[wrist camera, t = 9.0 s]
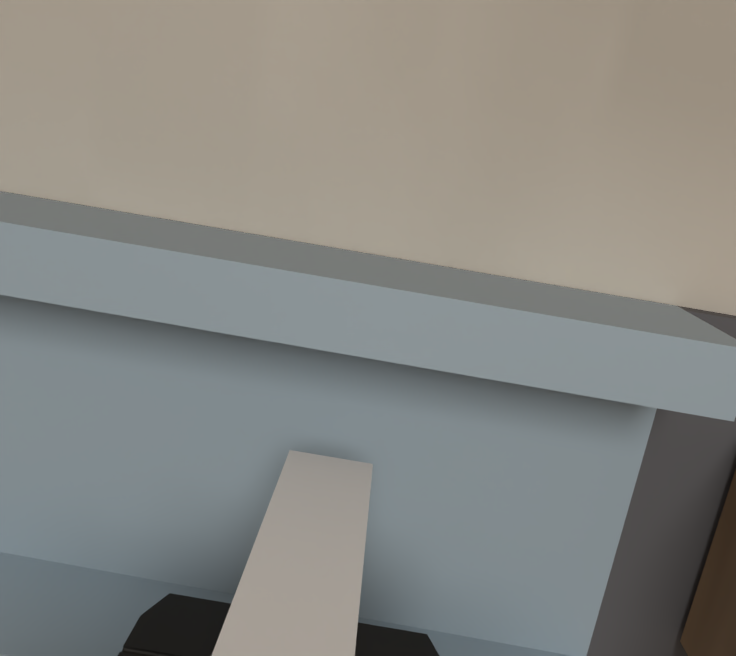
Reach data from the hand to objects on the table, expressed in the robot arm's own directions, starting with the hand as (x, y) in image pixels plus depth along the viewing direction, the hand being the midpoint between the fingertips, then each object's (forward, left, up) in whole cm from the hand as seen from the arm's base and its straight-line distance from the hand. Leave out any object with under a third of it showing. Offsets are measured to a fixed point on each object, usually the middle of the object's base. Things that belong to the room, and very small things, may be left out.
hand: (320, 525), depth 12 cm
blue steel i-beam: (-2, 0, -3) cm, 3 cm away
